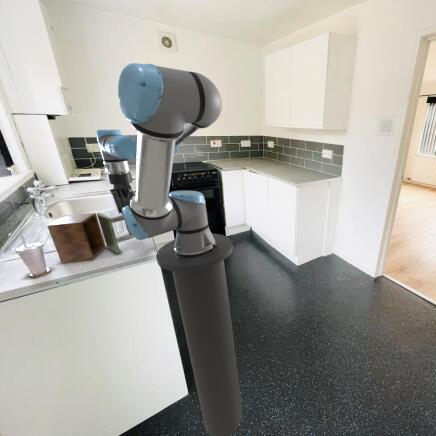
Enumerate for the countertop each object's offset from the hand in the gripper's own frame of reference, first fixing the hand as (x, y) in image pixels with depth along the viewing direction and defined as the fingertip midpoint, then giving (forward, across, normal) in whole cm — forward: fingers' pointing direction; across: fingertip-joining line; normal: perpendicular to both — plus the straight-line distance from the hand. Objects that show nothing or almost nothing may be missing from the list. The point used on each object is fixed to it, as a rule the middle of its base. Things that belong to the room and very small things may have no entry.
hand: (133, 230), depth 100 cm
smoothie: (+7, -10, -27) cm, 30 cm away
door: (+7, -4, -3) cm, 9 cm away
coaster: (+7, -10, -27) cm, 30 cm away
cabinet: (+7, -11, -13) cm, 19 cm away
